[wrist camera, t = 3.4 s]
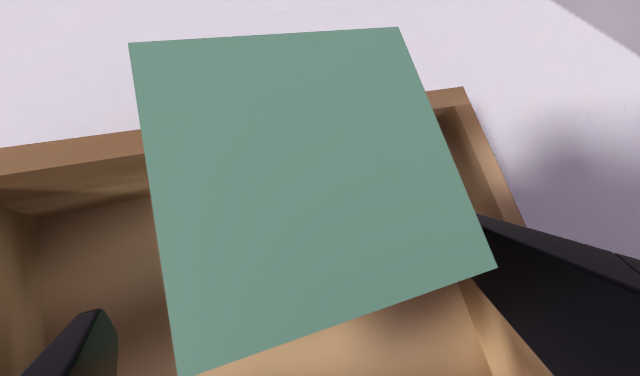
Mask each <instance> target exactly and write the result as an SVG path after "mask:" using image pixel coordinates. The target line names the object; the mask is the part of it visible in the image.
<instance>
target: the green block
mask: <svg viewBox="0 0 640 376" xmlns="http://www.w3.org/2000/svg"><path fill="white" fill-rule="evenodd" d="M128 46H129V53H130V60H131V66H132V73H133V80H134V87H135V93H136V100H137V107H138V113H139V120H140V127H141V133H142V140H143V147H144V154H145V160H146V167H147V174H148V180H149V187H150V194H151V201H152V207H153V214H154V221H155V227H156V234H157V241H158V247H159V254H160V261H161V268H162V274H163V281H164V288H165V294H166V301H167V308H168V314H169V321H170V328H171V335H172V341H173V348H174V355H175V361H176V368H177V375H178V376H195V375H198V374H200V373H203V372H206V371H209V370H212V369H214V368H217V367H220V366H223V365H226V364H228V363H231V362H234V361H237V360H240V359H243V358H245V357H248V356H251V355H254V354H257V353H259V352H262V351H265V350H268V349H271V348H273V347H276V346H279V345H282V344H285V343H288V342H290V341H293V340H296V339H299V338H302V337H304V336H307V335H310V334H313V333H316V332H318V331H321V330H324V329H327V328H330V327H332V326H335V325H338V324H341V323H344V322H347V321H349V320H352V319H355V318H358V317H361V316H363V315H366V314H369V313H372V312H375V311H377V310H380V309H383V308H386V307H389V306H392V305H394V304H397V303H400V302H403V301H406V300H408V299H411V298H414V297H417V296H420V295H422V294H425V293H428V292H431V291H434V290H436V289H439V288H442V287H445V286H448V285H451V284H453V283H456V282H459V281H462V280H465V279H467V278H470V277H473V276H476V275H479V274H481V273H484V272H487V271H490V270H493V269H496V268H498V266H497V264H496V262H495V259H494V257H493V254H492V252H491V249H490V247H489V245H488V242H487V240H486V237H485V235H484V233H483V230H482V228H481V225H480V223H479V221H478V218H477V216H476V213H475V211H474V208H473V206H472V204H471V201H470V199H469V196H468V194H467V192H466V189H465V187H464V184H463V182H462V179H461V177H460V175H459V172H458V170H457V167H456V165H455V163H454V160H453V158H452V155H451V153H450V151H449V148H448V146H447V143H446V141H445V138H444V136H443V134H442V131H441V129H440V126H439V124H438V122H437V119H436V117H435V114H434V112H433V110H432V107H431V105H430V102H429V100H428V97H427V95H426V93H425V90H424V88H423V85H422V83H421V81H420V78H419V76H418V73H417V71H416V69H415V66H414V64H413V61H412V59H411V56H410V54H409V52H408V49H407V47H406V44H405V42H404V40H403V37H402V35H401V32H400V30H399V28H398V27H387V28H370V29H353V30H336V31H319V32H303V33H286V34H269V35H252V36H235V37H218V38H202V39H185V40H168V41H151V42H134V43H128Z"/></svg>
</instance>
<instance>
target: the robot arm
mask: <svg viewBox="0 0 640 376" xmlns="http://www.w3.org/2000/svg"><path fill="white" fill-rule="evenodd" d="M476 216H477V218H478V221H479V223H480V225H481V228H482V230H483V233H484V235H485V237H486V240H487V242H488V245H489V247H490V249H491V252H492V254H493V257H494V259H495V262H496V264H497V266H498V268H496V269H493V270H490V271H487V272H484V273H481V274H479V275H476V276H473V277H471V279H472V280H473V281H474V283H475V284H476V285H477V287H478V288H479V289H480V290H481V291H482V293H483V294H484V295H485V296H486V297H487V298H488V300H489V301H490V302H491V303H492V304H493V305H494V307H495V308H496V309H497V310H498V311H499V313H500V314H501V315H502V316H503V317H504V318H505V320H506V321H507V322H508V323H509V324H510V325H511V327H512V328H513V329H514V330H515V331H516V332H517V334H518V335H519V336H520V337H521V338H522V339H523V341H524V342H525V343H526V344H527V345H528V346H529V348H530V349H531V350H532V351H533V352H534V353H535V355H536V356H537V357H538V358H539V359H540V360H541V362H542V363H543V364H544V365H545V366H546V368H547V369H548V370H549V371H550V372H551V373H552V375H553V376H640V260H638V259H635V258H631V257H628V256H624V255H621V254H617V253H614V254H613V253H612V252H610V251H607V250H603V249H600V248H596V247H593V246H589V245H586V244H582V243H579V242H575V241H572V240H568V239H565V238H561V237H558V236H554V235H551V234H547V233H544V232H540V231H537V230H533V229H530V228H526V227H523V226H520V225H516V224H513V223H509V222H506V221H502V220H499V219H495V218H492V217H488V216H485V215H481V214H478V213H476ZM118 346H119V338H118V333H117V331H116V329H115V327H114V325H113V324H112V322H111V320H110V318H109V317H108V315H107V313H106V312H105V310H104V309H102V308H97V309H93V310H90V311H86V312H82V313H80V314H78V315H77V316H76V317H75V318H74V319H73V320H72V321H71V322H70V323H69V324H68V325H67V326H66V327H65V328H64V329H63V330H62V331H61V332H60V333H59V335H58V336H57V337H56V338H55V339H54V340H53V341H52V342H51V343H50V344H49V345H48V346H47V347H46V348H45V349H44V350H43V351H42V352H41V353H40V354H39V355H38V357H37V358H36V359H35V360H34V361H33V362H32V363H31V364H30V365H29V366H28V367H27V368H26V369H25V370H24V371H23V372H22V373H21V374H20V375H19V376H117V364H118Z"/></svg>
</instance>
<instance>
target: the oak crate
mask: <svg viewBox="0 0 640 376" xmlns="http://www.w3.org/2000/svg"><path fill="white" fill-rule="evenodd" d="M425 93H426V95H427V97H428V100H429V102H430V105H431V107H432V110H433V112H434V114H435V117H436V119H437V122H438V124H439V126H440V129H441V131H442V134H443V136H444V138H445V141H446V143H447V146H448V148H449V151H450V153H451V155H452V158H453V160H454V163H455V165H456V167H457V170H458V172H459V175H460V177H461V179H462V182H463V184H464V187H465V189H466V192H467V194H468V196H469V199H470V201H471V204H472V206H473V208H474V211H475V213H478V214H481V215H485V216H488V217H492V218H495V219H499V220H502V221H506V222H509V223H513V224H516V225H520V226H523V227H526V225H525V223H524V221H523V219H522V216H521V214H520V212H519V210H518V208H517V205H516V203H515V201H514V199H513V196H512V194H511V192H510V190H509V188H508V185H507V183H506V181H505V179H504V177H503V174H502V172H501V170H500V168H499V165H498V163H497V161H496V159H495V157H494V154H493V152H492V150H491V148H490V146H489V143H488V141H487V139H486V137H485V134H484V132H483V130H482V128H481V126H480V123H479V121H478V119H477V117H476V114H475V112H474V110H473V108H472V106H471V103H470V101H469V99H468V97H467V95H466V92H465V90H464V88H463V87H456V88H449V89H441V90H434V91H426V92H425ZM97 308H102V309H104V310H105V312H106V313H107V315H108V317H109V318H110V320H111V322H112V324H113V325H114V327H115V329H116V331H117V333H118V338H119V346H118V364H117V376H178V375H177V368H176V361H175V355H174V348H173V341H172V335H171V328H170V321H169V314H168V308H167V301H166V294H165V288H164V281H163V274H162V268H161V261H160V254H159V247H158V241H157V234H156V227H155V221H154V214H153V207H152V201H151V194H150V187H149V180H148V174H147V167H146V160H145V154H144V147H143V140H142V133H141V129H140V130H132V131H125V132H117V133H110V134H102V135H95V136H87V137H80V138H72V139H65V140H57V141H50V142H42V143H34V144H27V145H19V146H12V147H4V148H0V376H19V375H20V374H21V373H22V372H23V371H24V370H25V369H26V368H27V367H28V366H29V365H30V364H31V363H32V362H33V361H34V360H35V359H36V358H37V357H38V355H39V354H40V353H41V352H42V351H43V350H44V349H45V348H46V347H47V346H48V345H49V344H50V343H51V342H52V341H53V340H54V339H55V338H56V337H57V336H58V335H59V333H60V332H61V331H62V330H63V329H64V328H65V327H66V326H67V325H68V324H69V323H70V322H71V321H72V320H73V319H74V318H75V317H76V316H77V315H78V314H80V313H82V312H86V311H90V310H93V309H97ZM195 376H553V375H552V373H551V372H550V371H549V370H548V369H547V368H546V366H545V365H544V364H543V363H542V362H541V360H540V359H539V358H538V357H537V356H536V355H535V353H534V352H533V351H532V350H531V349H530V348H529V346H528V345H527V344H526V343H525V342H524V341H523V339H522V338H521V337H520V336H519V335H518V334H517V332H516V331H515V330H514V329H513V328H512V327H511V325H510V324H509V323H508V322H507V321H506V320H505V318H504V317H503V316H502V315H501V314H500V313H499V311H498V310H497V309H496V308H495V307H494V305H493V304H492V303H491V302H490V301H489V300H488V298H487V297H486V296H485V295H484V294H483V293H482V291H481V290H480V289H479V288H478V287H477V285H476V284H475V283H474V281H473V280H472V279H471V277H470V278H467V279H465V280H462V281H459V282H456V283H453V284H451V285H448V286H445V287H442V288H439V289H436V290H434V291H431V292H428V293H425V294H422V295H420V296H417V297H414V298H411V299H408V300H406V301H403V302H400V303H397V304H394V305H392V306H389V307H386V308H383V309H380V310H377V311H375V312H372V313H369V314H366V315H363V316H361V317H358V318H355V319H352V320H349V321H347V322H344V323H341V324H338V325H335V326H332V327H330V328H327V329H324V330H321V331H318V332H316V333H313V334H310V335H307V336H304V337H302V338H299V339H296V340H293V341H290V342H288V343H285V344H282V345H279V346H276V347H273V348H271V349H268V350H265V351H262V352H259V353H257V354H254V355H251V356H248V357H245V358H243V359H240V360H237V361H234V362H231V363H228V364H226V365H223V366H220V367H217V368H214V369H212V370H209V371H206V372H203V373H200V374H198V375H195Z"/></svg>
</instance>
